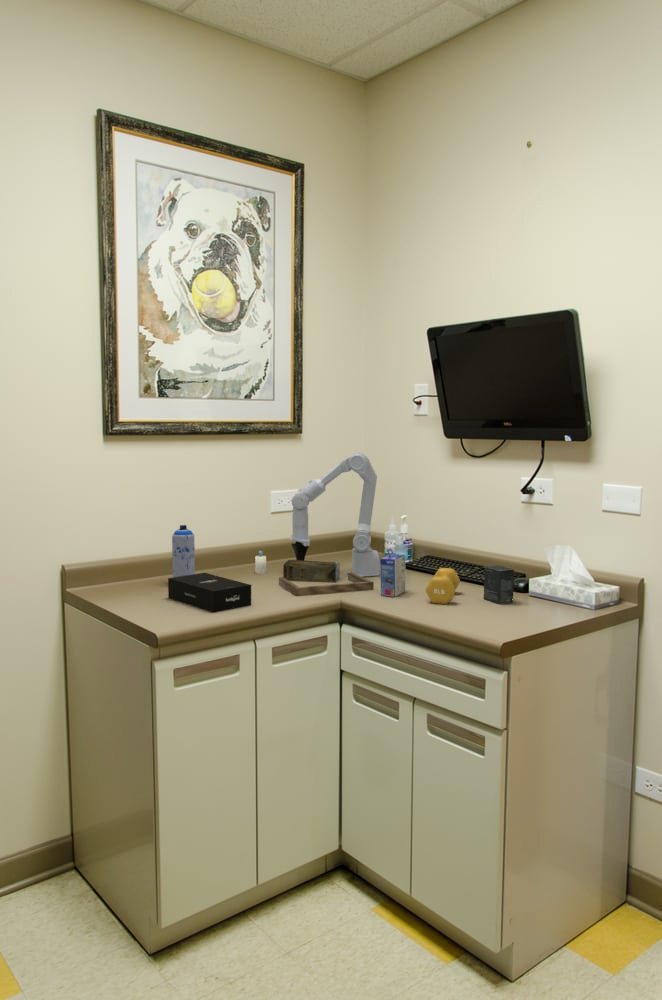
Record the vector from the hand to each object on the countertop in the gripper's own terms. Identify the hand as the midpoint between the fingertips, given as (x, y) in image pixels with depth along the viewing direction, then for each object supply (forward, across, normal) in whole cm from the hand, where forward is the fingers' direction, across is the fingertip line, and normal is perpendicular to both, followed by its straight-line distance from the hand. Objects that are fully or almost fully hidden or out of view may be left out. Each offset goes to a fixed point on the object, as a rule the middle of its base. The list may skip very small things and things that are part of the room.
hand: (300, 562), depth 278 cm
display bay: (+4, +25, 0) cm, 26 cm away
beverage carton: (+4, +11, 0) cm, 12 cm away
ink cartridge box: (+4, +41, +17) cm, 45 cm away
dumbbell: (+4, +52, +29) cm, 60 cm away
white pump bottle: (+4, -7, -13) cm, 15 cm away
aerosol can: (+4, +2, -43) cm, 43 cm away
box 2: (+4, +62, +43) cm, 76 cm away
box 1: (+4, +31, -41) cm, 52 cm away
